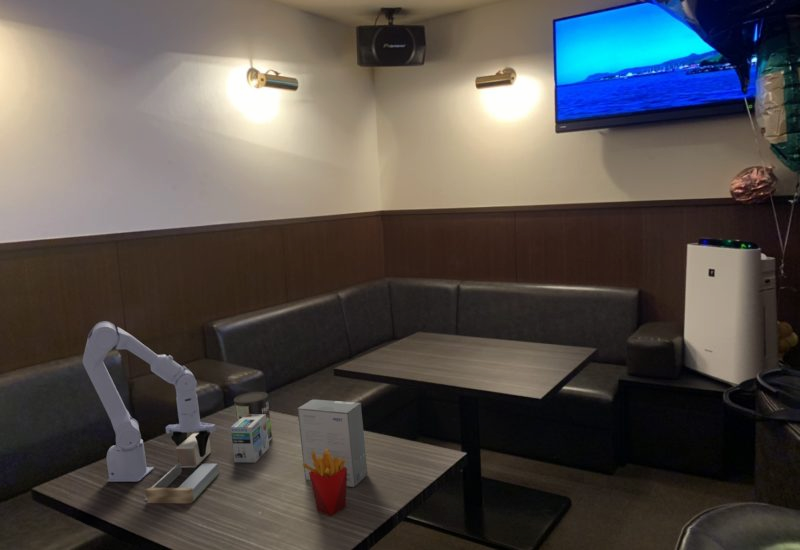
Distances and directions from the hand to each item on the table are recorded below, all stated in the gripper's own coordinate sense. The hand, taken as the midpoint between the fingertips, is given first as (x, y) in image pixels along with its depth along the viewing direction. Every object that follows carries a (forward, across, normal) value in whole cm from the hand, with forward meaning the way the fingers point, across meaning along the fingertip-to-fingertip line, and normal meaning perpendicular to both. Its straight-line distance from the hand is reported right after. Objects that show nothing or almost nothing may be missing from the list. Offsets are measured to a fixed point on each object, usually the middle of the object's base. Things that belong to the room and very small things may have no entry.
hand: (194, 455), depth 175 cm
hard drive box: (+2, -46, +10) cm, 47 cm away
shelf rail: (+1, -6, +24) cm, 24 cm away
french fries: (+2, -48, +28) cm, 56 cm away
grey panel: (+1, 0, +16) cm, 16 cm away
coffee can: (+2, -13, -14) cm, 19 cm away
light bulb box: (+2, -17, -3) cm, 17 cm away
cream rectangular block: (+2, 0, 0) cm, 2 cm away
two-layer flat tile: (+1, -9, +16) cm, 18 cm away
